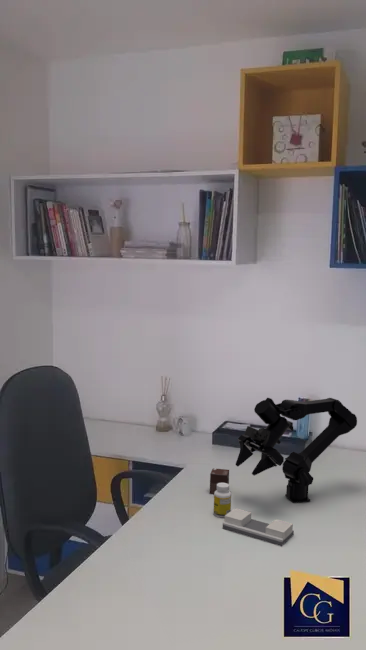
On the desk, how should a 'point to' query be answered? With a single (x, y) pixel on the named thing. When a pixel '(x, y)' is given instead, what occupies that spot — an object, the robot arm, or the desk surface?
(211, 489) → the box
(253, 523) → the rail plate
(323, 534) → the desk surface
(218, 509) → the supplement bottle
